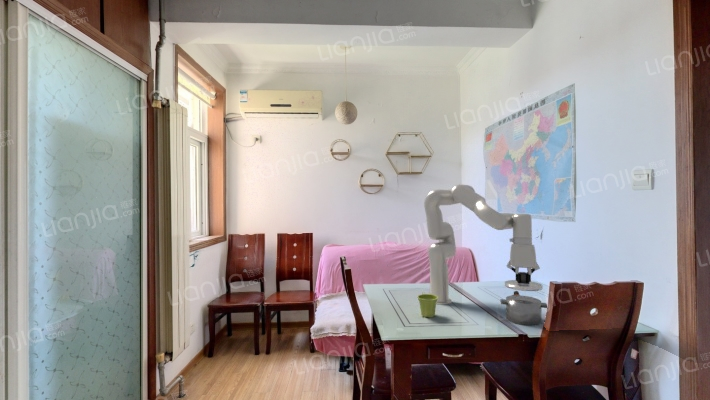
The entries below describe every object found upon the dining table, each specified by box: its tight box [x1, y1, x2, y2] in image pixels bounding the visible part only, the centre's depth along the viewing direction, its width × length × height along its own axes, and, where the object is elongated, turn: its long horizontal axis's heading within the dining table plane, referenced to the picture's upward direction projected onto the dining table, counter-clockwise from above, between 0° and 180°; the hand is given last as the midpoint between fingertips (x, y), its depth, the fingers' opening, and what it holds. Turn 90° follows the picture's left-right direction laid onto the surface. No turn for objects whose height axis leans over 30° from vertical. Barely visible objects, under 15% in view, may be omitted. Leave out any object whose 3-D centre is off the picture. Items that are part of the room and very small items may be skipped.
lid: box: [504, 271, 544, 292], centre depth 146 cm, size 15×15×6 cm
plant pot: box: [417, 293, 438, 318], centre depth 154 cm, size 9×9×9 cm
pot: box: [500, 294, 548, 327], centre depth 146 cm, size 18×14×9 cm
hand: (523, 282), depth 147 cm, fingers closed on lid, 3 cm apart
